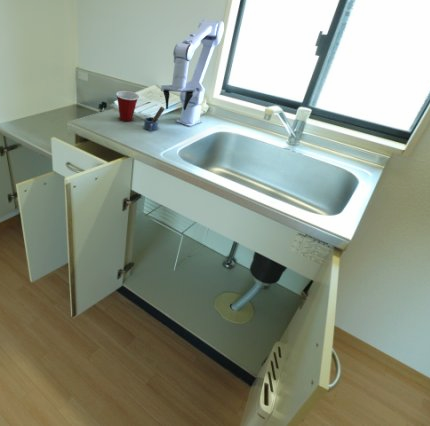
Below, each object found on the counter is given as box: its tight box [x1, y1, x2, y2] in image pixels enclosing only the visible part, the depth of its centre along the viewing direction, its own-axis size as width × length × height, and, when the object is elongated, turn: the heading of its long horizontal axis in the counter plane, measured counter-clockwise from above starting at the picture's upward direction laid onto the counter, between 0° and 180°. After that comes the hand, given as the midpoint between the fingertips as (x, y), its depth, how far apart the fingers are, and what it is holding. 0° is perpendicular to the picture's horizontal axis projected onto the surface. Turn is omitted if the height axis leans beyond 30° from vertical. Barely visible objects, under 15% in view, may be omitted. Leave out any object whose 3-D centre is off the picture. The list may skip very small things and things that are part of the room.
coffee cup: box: [143, 116, 159, 132], centre depth 148 cm, size 9×6×4 cm
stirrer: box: [151, 106, 165, 122], centre depth 147 cm, size 2×2×10 cm
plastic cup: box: [115, 90, 140, 122], centre depth 154 cm, size 11×11×12 cm
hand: (175, 108), depth 142 cm, fingers open, 7 cm apart
